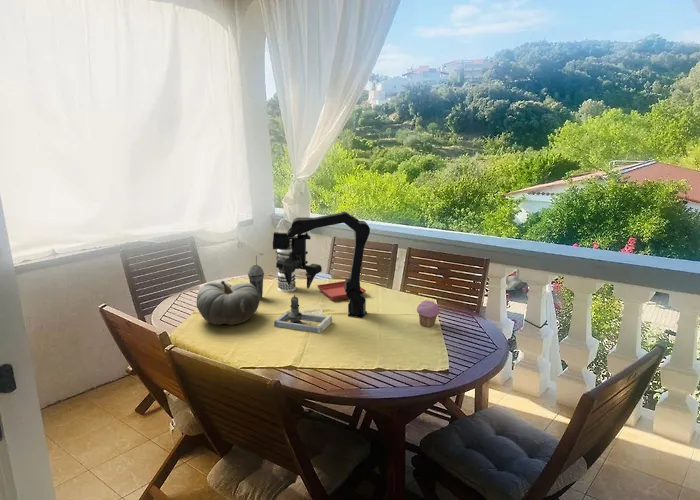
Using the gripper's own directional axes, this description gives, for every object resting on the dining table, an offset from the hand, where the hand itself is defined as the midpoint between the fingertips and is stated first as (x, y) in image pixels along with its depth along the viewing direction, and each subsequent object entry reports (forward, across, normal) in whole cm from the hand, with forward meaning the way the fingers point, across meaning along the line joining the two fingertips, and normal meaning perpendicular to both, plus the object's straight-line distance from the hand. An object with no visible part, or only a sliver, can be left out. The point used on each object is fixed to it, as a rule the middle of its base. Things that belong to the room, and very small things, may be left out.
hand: (298, 286), depth 201 cm
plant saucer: (+13, +2, +33) cm, 36 cm away
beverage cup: (+14, -29, +10) cm, 34 cm away
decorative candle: (+14, -24, +26) cm, 39 cm away
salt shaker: (+14, +3, -6) cm, 15 cm away
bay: (+13, +6, -6) cm, 16 cm away
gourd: (+14, -24, -15) cm, 32 cm away
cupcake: (+12, +51, +16) cm, 54 cm away
